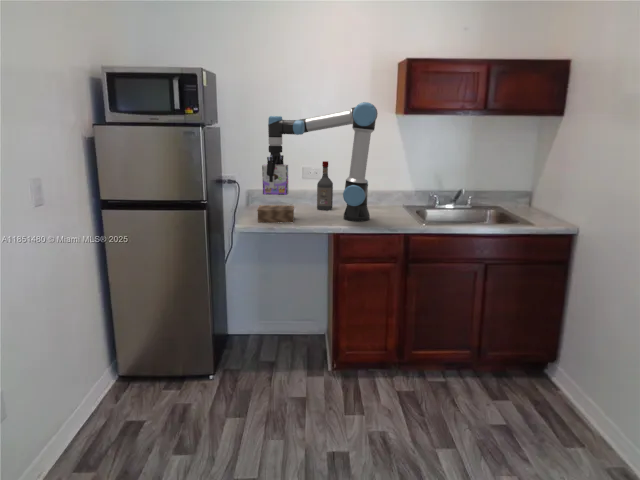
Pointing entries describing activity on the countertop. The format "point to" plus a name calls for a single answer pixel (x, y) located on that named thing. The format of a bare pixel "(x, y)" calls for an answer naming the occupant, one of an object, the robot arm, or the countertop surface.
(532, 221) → the countertop surface
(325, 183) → the liquor
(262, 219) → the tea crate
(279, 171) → the candy box
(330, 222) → the countertop surface
